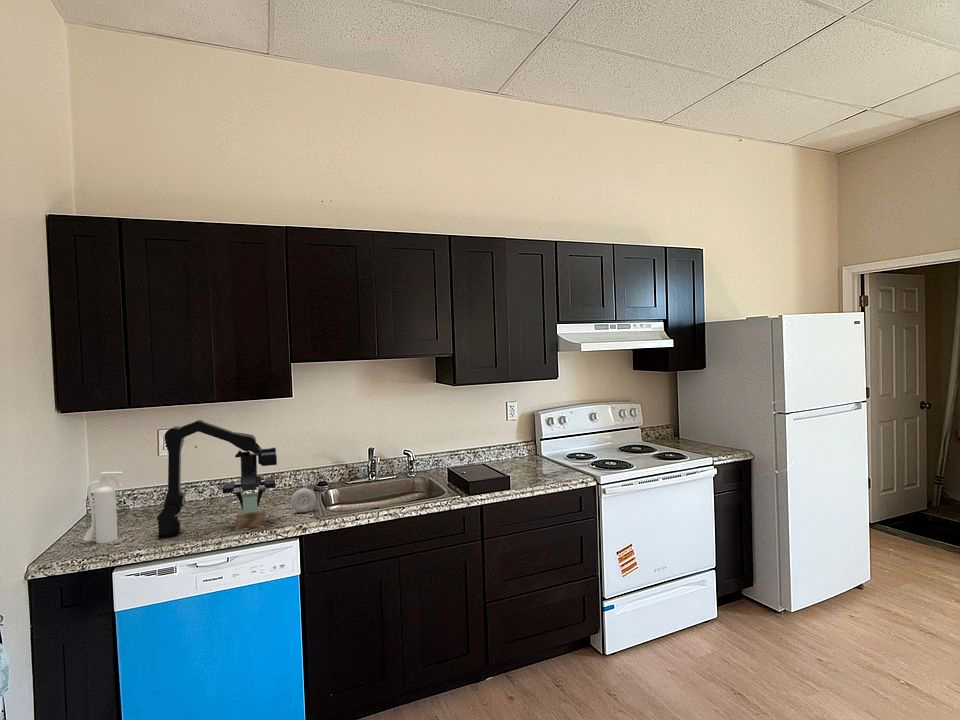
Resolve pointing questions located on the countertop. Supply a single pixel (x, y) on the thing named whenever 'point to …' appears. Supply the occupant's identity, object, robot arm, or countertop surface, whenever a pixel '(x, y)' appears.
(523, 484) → the countertop surface
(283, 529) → the countertop surface
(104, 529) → the fire extinguisher
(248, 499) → the sage block
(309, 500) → the donut
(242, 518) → the walnut base
